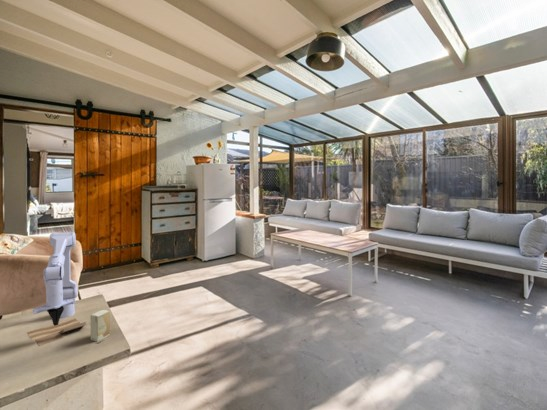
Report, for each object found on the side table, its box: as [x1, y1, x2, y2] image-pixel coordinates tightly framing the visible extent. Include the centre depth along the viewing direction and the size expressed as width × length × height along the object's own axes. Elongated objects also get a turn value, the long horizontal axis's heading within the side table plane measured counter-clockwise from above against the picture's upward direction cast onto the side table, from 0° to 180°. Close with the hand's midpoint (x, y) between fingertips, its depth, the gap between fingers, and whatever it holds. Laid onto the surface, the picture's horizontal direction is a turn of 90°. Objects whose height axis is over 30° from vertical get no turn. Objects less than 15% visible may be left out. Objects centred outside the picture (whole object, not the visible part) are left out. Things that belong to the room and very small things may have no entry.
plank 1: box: [34, 332, 64, 347], centre depth 123 cm, size 7×8×1 cm
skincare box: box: [90, 309, 111, 344], centre depth 125 cm, size 6×4×12 cm
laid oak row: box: [26, 317, 81, 341], centre depth 132 cm, size 10×18×1 cm, turn 141°
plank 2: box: [59, 321, 87, 335], centre depth 130 cm, size 7×8×1 cm
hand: (55, 324), depth 124 cm, fingers closed
